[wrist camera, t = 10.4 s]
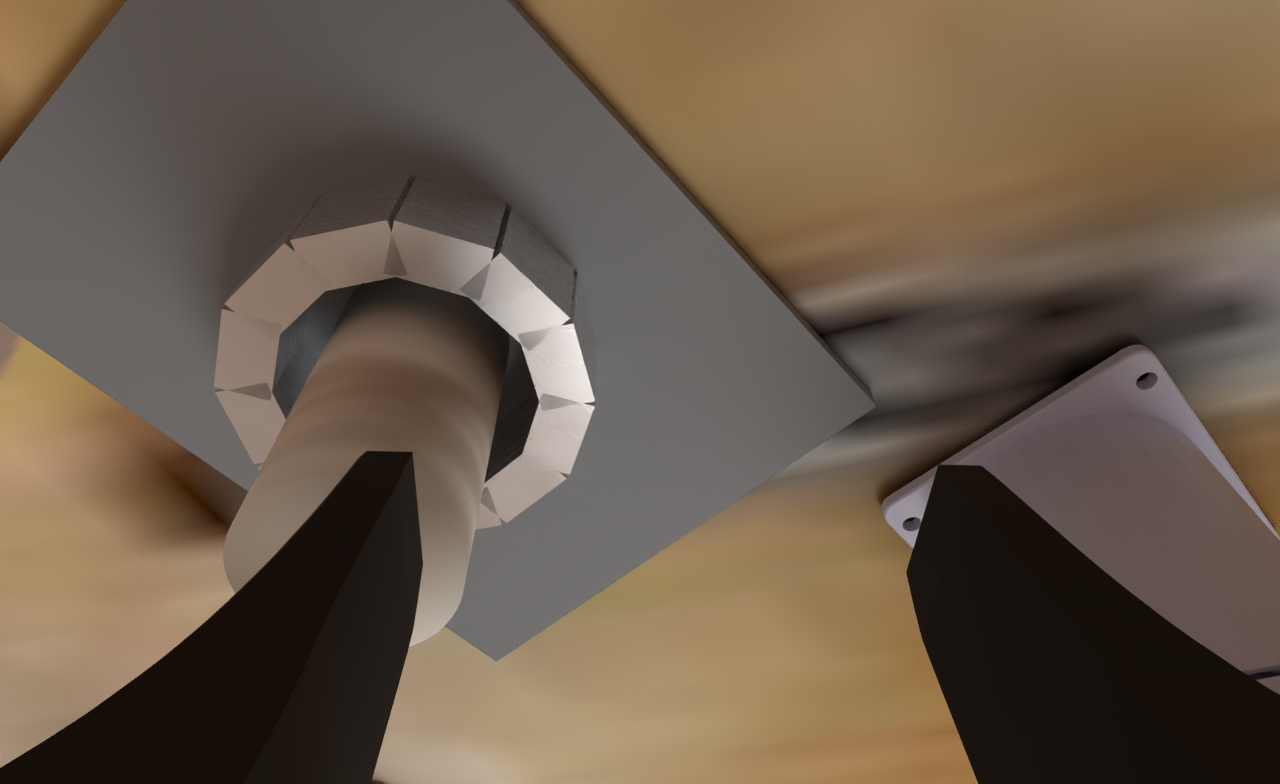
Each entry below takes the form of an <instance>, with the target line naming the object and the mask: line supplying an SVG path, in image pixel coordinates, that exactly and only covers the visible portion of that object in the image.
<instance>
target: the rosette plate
mask: <svg viewBox="0 0 1280 784" xmlns="http://www.w3.org/2000/svg"><path fill="white" fill-rule="evenodd" d="M409 175H411V178H412V181H413V182H414V180H415V178H416V176H420V177H423V178H427V179H430V180H433V181H437V182H440V183H444V184H447V185H450V186H454V187H457V188H460V189H464V190H467V191H470V192H474V193H477V194H480V195H484V196H487V197H490V198H494V199H497V200H500V201H504V202H507V203H506V207H505V211H504V213H505V212H506V211H507V210H508V209H509V208H510V207H511V206H513V207H514V208H515V209H516V210H517V211H518V212H519V213H520V214H521V215H522V216H523V217H524V218H525V219H526V220H527V221H529V222H530V223H531V224H532V225H533V226H534V227H535V228H536V229H537V230H538V231H539V232H540V233H541V234H542V235H543V236H544V237H545V238H546V239H547V240H548V241H549V242H550V243H551V244H552V245H553V246H554V247H555V248H556V249H557V250H558V251H559V252H560V253H561V254H562V255H563V256H564V257H565V258H566V259H568V260H569V261H570V262H571V263H572V264H573V265H574V266H575V268H574V272H577V271H578V275H579V279H580V282H581V286H582V290H583V294H584V297H585V301H586V305H587V309H588V312H589V316H590V320H591V324H592V327H593V331H594V335H595V339H596V342H597V360H596V389H595V407H594V410H593V413H592V416H591V418H590V421H589V424H588V427H587V429H586V432H585V435H584V437H583V440H582V443H581V446H580V448H579V451H578V454H577V457H576V459H575V462H574V465H573V467H572V470H571V473H570V475H569V474H567V479H566V480H564V481H563V482H562V483H560V484H559V485H558V486H556V487H555V488H553V489H552V490H551V491H549V492H548V493H547V494H545V495H544V496H543V497H541V498H540V499H539V500H537V501H536V502H535V503H533V504H532V505H531V506H529V507H528V508H526V509H525V510H524V511H522V512H521V513H520V514H518V515H517V516H516V517H514V518H513V519H512V520H510V521H509V522H508V523H506V522H505V521H504V520H503V521H502V525H499V526H494V527H488V528H482V529H476V530H475V533H474V539H473V544H472V549H471V554H470V559H469V565H468V570H467V575H466V580H465V585H464V590H463V595H462V599H461V602H460V604H459V606H458V609H457V610H456V612H455V613H454V615H453V617H452V618H451V619H450V620H449V621H448V623H447V624H446V625H445V627H447V628H448V629H450V630H451V631H453V632H454V633H456V634H457V635H458V636H460V637H461V638H463V639H464V640H466V641H467V642H469V643H470V644H472V645H473V646H474V647H476V648H477V649H479V650H480V651H482V652H483V653H485V654H486V655H488V656H489V657H491V658H492V659H493V660H495V661H498V660H499V659H501V658H502V657H504V656H505V655H507V654H508V653H510V652H511V651H513V650H514V649H516V648H517V647H519V646H520V645H522V644H523V643H525V642H526V641H528V640H529V639H531V638H532V637H534V636H535V635H537V634H538V633H540V632H541V631H543V630H544V629H546V628H547V627H549V626H550V625H552V624H553V623H554V622H556V621H557V620H559V619H560V618H562V617H563V616H565V615H566V614H568V613H569V612H571V611H572V610H574V609H575V608H577V607H578V606H580V605H581V604H583V603H584V602H586V601H587V600H589V599H590V598H592V597H593V596H595V595H596V594H598V593H599V592H601V591H602V590H604V589H605V588H607V587H608V586H610V585H611V584H613V583H614V582H616V581H617V580H619V579H620V578H622V577H623V576H624V575H626V574H627V573H629V572H630V571H632V570H633V569H635V568H636V567H638V566H639V565H641V564H642V563H644V562H645V561H647V560H648V559H650V558H651V557H653V556H654V555H656V554H657V553H659V552H660V551H662V550H663V549H665V548H666V547H668V546H669V545H671V544H672V543H674V542H675V541H677V540H678V539H680V538H681V537H683V536H684V535H686V534H687V533H689V532H690V531H692V530H693V529H694V528H696V527H697V526H699V525H700V524H702V523H703V522H705V521H706V520H708V519H709V518H711V517H712V516H714V515H715V514H717V513H718V512H720V511H721V510H723V509H724V508H726V507H727V506H729V505H730V504H732V503H733V502H735V501H736V500H738V499H739V498H741V497H742V496H744V495H745V494H747V493H748V492H750V491H751V490H753V489H754V488H756V487H757V486H759V485H760V484H762V483H763V482H765V481H766V480H767V479H769V478H770V477H772V476H773V475H775V474H776V473H778V472H779V471H781V470H782V469H784V468H785V467H787V466H788V465H790V464H791V463H793V462H794V461H796V460H797V459H799V458H800V457H802V456H803V455H805V454H806V453H808V452H809V451H811V450H812V449H814V448H815V447H817V446H818V445H820V444H821V443H823V442H824V441H826V440H827V439H829V438H830V437H832V436H833V435H835V434H836V433H837V432H839V431H840V430H842V429H843V428H845V427H846V426H848V425H849V424H851V423H852V422H854V421H855V420H857V419H858V418H860V417H861V416H863V415H864V414H866V413H867V412H869V411H870V410H872V409H873V408H875V407H876V406H877V405H876V403H875V401H874V398H873V396H872V394H871V392H870V391H869V390H868V389H867V388H866V387H865V386H864V385H863V383H862V382H861V381H860V380H859V379H858V378H857V377H856V376H855V375H854V374H853V372H852V371H851V370H850V369H849V368H848V367H847V366H846V365H845V364H844V363H843V361H842V360H841V359H840V358H839V357H838V356H837V355H836V354H835V353H834V351H833V350H832V349H831V348H830V347H829V346H828V345H827V344H826V343H825V342H824V340H823V339H822V338H821V337H820V336H819V335H818V334H817V333H816V332H815V331H814V329H813V328H812V327H811V326H810V325H809V324H808V323H807V322H806V321H805V319H804V318H803V317H802V316H801V315H800V314H799V313H798V312H797V311H796V310H795V308H794V307H793V306H792V305H791V304H790V303H789V302H788V301H787V300H786V299H785V297H784V296H783V295H782V294H781V293H780V292H779V291H778V290H777V289H776V287H775V286H774V285H773V284H772V283H771V282H770V281H769V280H768V279H767V278H766V276H765V275H764V274H763V273H762V272H761V271H760V270H759V269H758V268H757V267H756V265H755V264H754V263H753V262H752V261H751V260H750V259H749V258H748V257H747V255H746V254H745V253H744V252H743V251H742V250H741V249H740V248H739V247H738V246H737V244H736V243H735V242H734V241H733V240H732V239H731V238H730V237H729V236H728V235H727V233H726V232H725V231H724V230H723V229H722V228H721V227H720V226H719V225H718V223H717V222H716V221H715V220H714V219H713V218H712V217H711V216H710V215H709V214H708V212H707V211H706V210H705V209H704V208H703V207H702V206H701V205H700V204H699V203H698V201H697V200H696V199H695V198H694V197H693V196H692V195H691V194H690V193H689V192H688V190H687V189H686V188H685V187H684V186H683V185H682V184H681V183H680V182H679V180H678V179H677V178H676V177H675V176H674V175H673V174H672V173H671V172H670V171H669V169H668V168H667V167H666V166H665V165H664V164H663V163H662V162H661V161H660V160H659V158H658V157H657V156H656V155H655V154H654V153H653V152H652V151H651V150H650V148H649V147H648V146H647V145H646V144H645V143H644V142H643V141H642V140H641V139H640V137H639V136H638V135H637V134H636V133H635V132H634V131H633V130H632V129H631V128H630V126H629V125H628V124H627V123H626V122H625V121H624V120H623V119H622V118H621V116H620V115H619V114H618V113H617V112H616V111H615V110H614V109H613V108H612V107H611V105H610V104H609V103H608V102H607V101H606V100H605V99H604V98H603V97H602V96H601V94H600V93H599V92H598V91H597V90H596V89H595V88H594V87H593V86H592V84H591V83H590V82H589V81H588V80H587V79H586V78H585V77H584V76H583V75H582V73H581V72H580V71H579V70H578V69H577V68H576V67H575V66H574V65H573V64H572V62H571V61H570V60H569V59H568V58H567V57H566V56H565V55H564V54H563V52H562V51H561V50H560V49H559V48H558V47H557V46H556V45H555V44H554V43H553V41H552V40H551V39H550V38H549V37H548V36H547V35H546V34H545V33H544V32H543V30H542V29H541V28H540V27H539V26H538V25H537V24H536V23H535V22H534V20H533V19H532V18H531V17H530V16H529V15H528V14H527V13H526V12H525V11H524V9H523V8H522V7H521V6H520V5H519V4H518V3H517V2H516V1H515V0H127V1H126V2H125V3H124V5H123V6H122V7H121V8H120V10H119V11H118V12H117V14H116V15H115V16H114V17H113V19H112V20H111V21H110V22H109V24H108V25H107V26H106V28H105V29H104V30H103V31H102V33H101V34H100V35H99V37H98V38H97V39H96V40H95V42H94V43H93V44H92V45H91V47H90V48H89V49H88V51H87V52H86V53H85V54H84V56H83V57H82V58H81V60H80V61H79V62H78V63H77V65H76V66H75V67H74V68H73V70H72V71H71V72H70V74H69V75H68V76H67V77H66V79H65V80H64V81H63V83H62V84H61V85H60V86H59V88H58V89H57V90H56V91H55V93H54V94H53V95H52V97H51V98H50V99H49V100H48V102H47V103H46V104H45V106H44V107H43V108H42V109H41V111H40V112H39V113H38V114H37V116H36V117H35V118H34V120H33V121H32V122H31V123H30V125H29V126H28V127H27V129H26V130H25V131H24V132H23V134H22V135H21V136H20V137H19V139H18V140H17V141H16V143H15V144H14V145H13V146H12V148H11V149H10V150H9V152H8V153H7V154H6V155H5V157H4V158H3V159H2V160H1V162H0V321H1V322H2V323H3V324H5V325H7V326H8V327H9V328H11V329H12V330H14V331H15V332H17V333H18V334H20V335H21V336H22V337H24V338H25V339H27V340H28V341H30V342H31V343H33V344H34V345H36V346H37V347H38V348H40V349H41V350H43V351H44V352H46V353H47V354H49V355H50V356H52V357H53V358H55V359H56V360H57V361H59V362H60V363H62V364H63V365H65V366H66V367H68V368H69V369H71V370H72V371H73V372H75V373H76V374H78V375H79V376H81V377H82V378H84V379H85V380H87V381H88V382H90V383H91V384H92V385H94V386H95V387H97V388H98V389H100V390H101V391H103V392H104V393H106V394H107V395H108V396H110V397H111V398H113V399H114V400H116V401H117V402H119V403H120V404H122V405H123V406H125V407H126V408H127V409H129V410H130V411H132V412H133V413H135V414H136V415H138V416H139V417H141V418H142V419H143V420H145V421H146V422H148V423H149V424H151V425H152V426H154V427H155V428H157V429H158V430H160V431H161V432H162V433H164V434H165V435H167V436H168V437H170V438H171V439H173V440H174V441H176V442H177V443H178V444H180V445H181V446H183V447H184V448H186V449H187V450H189V451H190V452H192V453H193V454H195V455H196V456H197V457H199V458H200V459H202V460H203V461H205V462H206V463H208V464H209V465H211V466H212V467H213V468H215V469H216V470H218V471H219V472H221V473H222V474H224V475H225V476H227V477H228V478H229V479H231V480H232V481H234V482H235V483H237V484H238V485H240V486H241V487H243V488H244V489H246V490H247V491H248V492H249V490H250V488H251V486H252V484H253V482H254V481H255V479H256V477H257V475H258V473H259V471H260V470H259V469H258V467H259V465H260V463H257V464H254V463H253V461H252V460H251V458H250V456H249V454H248V452H247V450H246V449H245V447H244V445H243V443H242V441H241V439H240V438H239V436H238V434H237V432H236V430H235V428H234V426H233V425H232V423H231V421H230V419H229V417H228V415H227V414H226V412H225V410H224V408H223V406H222V404H221V403H220V401H219V399H218V397H217V395H216V393H215V392H216V390H217V388H216V387H214V380H215V370H216V361H217V351H218V341H219V332H220V322H221V312H222V308H223V307H224V305H225V304H224V303H225V302H226V301H227V299H228V298H229V297H230V295H231V294H232V293H233V291H234V290H235V289H236V287H237V286H238V285H239V284H240V282H241V281H242V280H243V278H244V277H245V276H246V274H247V273H248V272H249V270H250V269H251V268H252V266H253V265H254V264H255V262H256V261H257V260H258V258H259V257H260V256H261V254H262V253H263V252H264V251H265V250H266V249H267V248H268V247H269V246H270V245H271V244H272V243H273V242H274V241H275V240H276V239H277V238H278V237H279V236H280V235H281V234H282V233H283V232H284V231H285V230H286V229H287V228H288V226H289V225H290V224H291V223H292V222H293V221H294V220H295V219H296V218H297V217H298V216H299V215H300V214H301V213H302V212H303V211H304V210H305V209H306V208H307V207H308V206H309V205H310V204H311V203H312V202H313V201H314V200H315V199H316V198H317V197H319V198H321V196H322V195H323V194H324V193H329V192H333V191H338V190H343V189H348V188H352V187H357V186H362V185H367V184H371V183H376V182H381V181H386V180H390V179H395V178H400V177H405V176H409ZM360 285H361V284H358V285H353V286H348V287H343V288H338V289H333V290H328V291H325V292H324V293H323V294H322V295H321V296H320V297H319V298H318V299H316V300H315V301H314V302H313V303H312V304H311V305H310V306H309V307H308V313H307V319H306V326H305V332H304V336H305V338H306V341H307V343H308V345H309V347H310V349H311V351H312V354H313V356H314V358H315V360H316V362H317V360H318V358H319V356H320V354H321V352H322V350H323V348H324V347H325V345H326V343H327V341H328V339H329V337H330V335H331V333H332V331H333V329H334V327H335V326H336V324H337V322H338V320H339V318H340V316H341V314H342V312H343V310H344V308H345V306H346V304H347V303H348V301H349V299H350V297H351V296H352V294H353V293H354V291H355V290H356V289H357V288H358V287H359V286H360ZM509 338H510V350H509V357H508V362H507V367H506V372H505V377H504V383H503V388H502V393H501V398H500V403H499V409H498V414H497V419H496V422H497V421H498V420H499V419H500V418H502V417H503V416H504V415H505V414H507V413H508V412H509V411H510V410H512V409H513V408H514V407H515V406H517V405H518V404H519V403H520V402H522V401H523V400H524V399H525V398H527V397H528V396H529V395H530V394H531V392H532V389H533V386H534V383H533V380H532V377H531V374H530V371H529V367H528V364H527V361H526V358H525V355H524V352H523V349H522V346H521V344H520V343H519V342H518V341H517V340H516V339H515V338H514V337H513V336H511V335H510V334H509Z"/></svg>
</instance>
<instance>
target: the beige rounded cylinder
mask: <svg viewBox="0 0 1280 784" xmlns="http://www.w3.org/2000/svg"><path fill="white" fill-rule="evenodd" d="M509 350H510V338H509V333H508V332H507V331H506V330H505V329H504V328H502V327H501V326H500V325H499V324H498V323H497V322H496V321H495V320H494V319H492V318H491V317H490V316H489V315H488V314H487V313H486V312H485V311H483V310H482V309H481V308H480V307H479V306H478V305H477V304H476V303H475V302H473V301H472V300H471V299H470V298H469V297H466V296H462V295H459V294H455V293H451V292H448V291H444V290H441V289H437V288H433V287H430V286H426V285H423V284H419V283H415V282H412V281H408V280H405V279H401V278H397V277H393V278H388V279H383V280H378V281H373V282H368V283H363V284H361V285H360V286H359V287H358V288H357V289H356V290H355V291H354V293H353V294H352V296H351V297H350V299H349V301H348V303H347V304H346V306H345V308H344V310H343V312H342V314H341V316H340V318H339V320H338V322H337V324H336V326H335V327H334V329H333V331H332V333H331V335H330V337H329V339H328V341H327V343H326V345H325V347H324V348H323V350H322V352H321V354H320V356H319V358H318V360H317V362H316V364H315V366H314V368H313V370H312V371H311V373H310V375H309V377H308V379H307V381H306V383H305V385H304V387H303V389H302V391H301V392H300V394H299V396H298V398H297V400H296V402H295V404H294V406H293V408H292V410H291V412H290V414H289V415H288V417H287V419H286V421H285V423H284V425H283V427H282V429H281V431H280V433H279V435H278V437H277V438H276V440H275V442H274V444H273V446H272V448H271V450H270V452H269V454H268V456H267V458H266V459H265V461H264V463H263V465H262V467H261V469H260V471H259V473H258V475H257V477H256V479H255V481H254V482H253V484H252V486H251V488H250V490H249V492H248V494H247V496H246V498H245V500H244V502H243V503H242V505H241V507H240V509H239V511H238V513H237V515H236V517H235V519H234V521H233V523H232V525H231V527H230V529H229V531H228V533H227V536H226V540H225V544H224V565H225V571H226V574H227V577H228V580H229V582H230V584H231V586H232V588H233V590H234V592H235V593H237V592H238V591H239V590H240V589H241V588H242V587H243V586H244V585H245V584H246V583H247V582H248V581H249V580H250V579H251V578H252V577H253V576H254V575H255V574H256V573H257V572H258V571H259V570H260V569H261V568H262V567H263V566H264V565H265V564H266V563H267V562H268V561H269V560H270V559H271V558H272V557H273V556H274V555H275V554H276V553H277V552H278V551H279V550H280V549H281V548H282V546H283V545H284V544H285V543H286V542H287V541H288V540H289V539H290V538H291V537H292V535H293V534H294V533H295V532H296V531H297V530H298V529H299V528H300V527H301V526H302V524H303V523H304V522H305V521H306V520H307V519H308V518H309V517H310V516H311V514H312V513H313V512H314V511H315V510H316V509H317V507H318V506H319V505H320V504H321V503H322V502H323V500H324V499H325V498H326V497H327V496H328V495H329V493H330V492H331V491H332V490H333V489H334V487H335V486H336V485H337V484H338V483H339V481H340V480H341V479H342V478H343V476H344V475H345V474H346V473H347V471H348V470H349V469H350V468H351V467H352V465H353V464H354V463H355V462H356V460H357V459H358V458H359V457H360V456H361V455H362V454H363V453H365V452H366V451H399V452H413V461H414V472H415V483H416V493H417V504H418V515H419V525H420V536H421V547H422V557H423V569H422V576H421V583H420V589H419V596H418V603H417V609H416V616H415V622H414V628H413V633H412V637H411V641H410V645H409V647H411V646H413V645H416V644H418V643H420V642H422V641H424V640H426V639H428V638H429V637H431V636H432V635H434V634H435V633H437V632H438V631H439V630H440V629H442V628H443V627H444V626H445V625H446V624H447V623H448V621H449V620H450V619H451V618H452V617H453V615H454V613H455V612H456V610H457V609H458V606H459V604H460V602H461V599H462V595H463V590H464V585H465V580H466V575H467V570H468V565H469V559H470V554H471V549H472V544H473V539H474V533H475V528H476V523H477V518H478V513H479V507H480V502H481V497H482V492H483V487H484V481H485V476H486V471H487V466H488V461H489V455H490V450H491V445H492V440H493V435H494V429H495V424H496V419H497V414H498V409H499V403H500V398H501V393H502V388H503V383H504V377H505V372H506V367H507V362H508V357H509Z"/></svg>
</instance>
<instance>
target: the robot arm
mask: <svg viewBox="0 0 1280 784" xmlns="http://www.w3.org/2000/svg"><path fill="white" fill-rule="evenodd" d="M1147 372H1150V373H1149V375H1148V376H1147V377H1146V378H1145V379H1144V380H1141V381H1139V382H1137V379H1138V378H1139V377H1140V376H1141V375H1142V374H1145V373H1147ZM881 511H882V514H883V517H884V519H885V520H886V522H887V523H888V524H889V525H890V526H891V527H892V528H893V529H894V530H895V531H896V532H897V533H898V534H899V535H900V536H901V537H902V538H903V539H904V540H905V542H906V543H907V544H908V545H909V546H910V547H911V548H912V549H913V552H912V555H911V558H910V562H909V565H908V569H907V572H906V573H907V577H908V582H909V586H910V591H911V595H912V600H913V604H914V609H915V613H916V617H917V620H918V624H919V628H920V632H921V636H922V639H923V642H924V645H925V647H926V650H927V653H928V656H929V658H930V661H931V663H932V666H933V669H934V671H935V674H936V677H937V679H938V682H939V684H940V687H941V690H942V692H943V695H944V697H945V700H946V702H947V705H948V707H949V710H950V713H951V715H952V718H953V720H954V723H955V725H956V728H957V730H958V733H959V735H960V738H961V741H962V743H963V746H964V748H965V751H966V753H967V756H968V758H969V761H970V763H971V766H972V769H973V771H974V774H975V776H976V779H977V781H978V784H1280V537H1279V536H1278V534H1277V533H1276V531H1275V530H1274V528H1273V527H1272V525H1271V524H1270V522H1269V521H1268V520H1267V518H1266V517H1265V515H1264V514H1263V512H1262V511H1261V509H1260V508H1259V506H1258V505H1257V503H1256V502H1255V501H1254V499H1253V498H1252V496H1251V495H1250V493H1249V492H1248V490H1247V489H1246V487H1245V486H1244V484H1243V483H1242V481H1241V480H1240V479H1239V477H1238V476H1237V474H1236V473H1235V471H1234V470H1233V468H1232V467H1231V465H1230V464H1229V462H1228V461H1227V460H1226V458H1225V457H1224V455H1223V454H1222V452H1221V451H1220V449H1219V448H1218V446H1217V445H1216V443H1215V442H1214V440H1213V439H1212V438H1211V436H1210V435H1209V433H1208V432H1207V430H1206V429H1205V427H1204V426H1203V424H1202V423H1201V421H1200V420H1199V419H1198V417H1197V416H1196V414H1195V413H1194V411H1193V410H1192V408H1191V407H1190V405H1189V404H1188V402H1187V401H1186V399H1185V398H1184V397H1183V395H1182V394H1181V392H1180V391H1179V389H1178V388H1177V386H1176V385H1175V383H1174V382H1173V380H1172V379H1171V378H1170V376H1169V375H1168V373H1167V372H1166V370H1165V369H1164V367H1163V366H1162V364H1161V363H1160V361H1159V360H1158V358H1157V357H1156V356H1155V355H1154V354H1153V353H1152V351H1151V350H1149V349H1148V348H1147V347H1146V346H1143V345H1139V344H1138V345H1130V346H1128V347H1126V348H1124V349H1122V350H1120V351H1119V352H1117V353H1116V354H1114V355H1112V356H1111V357H1109V358H1108V359H1106V360H1104V361H1103V362H1101V363H1100V364H1098V365H1096V366H1095V367H1093V368H1092V369H1090V370H1088V371H1087V372H1085V373H1084V374H1082V375H1081V376H1079V377H1077V378H1076V379H1074V380H1073V381H1071V382H1069V383H1068V384H1066V385H1065V386H1063V387H1061V388H1060V389H1058V390H1057V391H1055V392H1053V393H1052V394H1050V395H1049V396H1047V397H1045V398H1044V399H1042V400H1041V401H1039V402H1038V403H1036V404H1034V405H1033V406H1031V407H1030V408H1028V409H1026V410H1025V411H1023V412H1022V413H1020V414H1018V415H1017V416H1015V417H1014V418H1012V419H1010V420H1009V421H1007V422H1006V423H1004V424H1002V425H1001V426H999V427H998V428H996V429H995V430H993V431H991V432H990V433H988V434H987V435H985V436H983V437H982V438H980V439H979V440H977V441H975V442H974V443H972V444H971V445H969V446H967V447H966V448H964V449H963V450H961V451H960V452H958V453H956V454H955V455H953V456H952V457H950V458H948V459H947V460H945V461H944V462H942V463H940V464H939V465H937V466H936V467H934V468H932V469H931V470H929V471H928V472H926V473H924V474H923V475H921V476H920V477H918V478H917V479H915V480H913V481H912V482H910V483H909V484H907V485H905V486H904V487H902V488H901V489H899V490H897V491H896V492H894V493H893V494H891V495H889V496H888V497H887V498H886V499H885V500H884V501H883V503H882V505H881ZM910 517H916V518H915V519H914V520H913V521H910V522H904V521H905V520H906V519H908V518H910ZM422 569H423V557H422V547H421V536H420V525H419V515H418V504H417V493H416V483H415V472H414V461H413V452H399V451H366V452H365V453H363V454H362V455H361V456H360V457H359V458H358V459H357V460H356V462H355V463H354V464H353V465H352V467H351V468H350V469H349V470H348V471H347V473H346V474H345V475H344V476H343V478H342V479H341V480H340V481H339V483H338V484H337V485H336V486H335V487H334V489H333V490H332V491H331V492H330V493H329V495H328V496H327V497H326V498H325V499H324V500H323V502H322V503H321V504H320V505H319V506H318V507H317V509H316V510H315V511H314V512H313V513H312V514H311V516H310V517H309V518H308V519H307V520H306V521H305V522H304V523H303V524H302V526H301V527H300V528H299V529H298V530H297V531H296V532H295V533H294V534H293V535H292V537H291V538H290V539H289V540H288V541H287V542H286V543H285V544H284V545H283V546H282V548H281V549H280V550H279V551H278V552H277V553H276V554H275V555H274V556H273V557H272V558H271V559H270V560H269V561H268V562H267V563H266V564H265V565H264V566H263V567H262V568H261V569H260V570H259V571H258V572H257V573H256V574H255V575H254V576H253V577H252V578H251V579H250V580H249V581H248V582H247V583H246V584H245V585H244V586H243V587H242V588H241V589H240V590H239V591H238V592H237V593H236V594H235V595H234V596H233V597H232V598H231V599H230V600H229V601H228V602H227V603H225V604H224V605H223V606H222V607H221V608H220V609H219V610H218V611H217V612H216V613H215V614H213V615H212V616H211V617H210V618H209V619H208V620H207V621H206V622H205V623H203V624H202V625H201V626H200V627H199V628H198V629H196V630H195V631H194V632H193V633H192V634H191V635H189V636H188V637H187V638H186V639H185V640H183V641H182V642H181V643H180V644H179V645H177V646H176V647H175V648H174V649H173V650H171V651H170V652H169V653H168V654H167V655H165V656H164V657H163V658H162V659H160V660H159V661H158V662H156V663H155V664H154V665H152V666H151V667H150V668H149V669H147V670H146V671H145V672H143V673H142V674H141V675H139V676H138V677H137V678H135V679H134V680H132V681H131V682H130V683H128V684H127V685H126V686H124V687H123V688H121V689H120V690H119V691H117V692H116V693H115V694H113V695H112V696H110V697H109V698H108V699H106V700H105V701H103V702H102V703H101V704H99V705H98V706H97V707H95V708H94V709H92V710H91V711H90V712H88V713H87V714H85V715H84V716H82V717H81V718H79V719H78V720H76V721H75V722H73V723H71V724H70V725H68V726H67V727H65V728H64V729H62V730H61V731H59V732H58V733H56V734H54V735H53V736H51V737H50V738H48V739H47V740H45V741H44V742H42V743H40V744H39V745H37V746H35V747H34V748H32V749H31V750H29V751H27V752H26V753H24V754H22V755H21V756H19V757H18V758H16V759H14V760H13V761H11V762H9V763H8V764H6V765H4V766H3V767H1V768H0V784H371V780H372V777H373V773H374V770H375V766H376V763H377V759H378V756H379V752H380V748H381V745H382V741H383V738H384V734H385V731H386V727H387V724H388V720H389V717H390V713H391V709H392V706H393V702H394V699H395V695H396V692H397V688H398V685H399V681H400V677H401V674H402V670H403V666H404V663H405V659H406V656H407V652H408V648H409V645H410V641H411V637H412V633H413V628H414V622H415V616H416V609H417V603H418V596H419V589H420V583H421V576H422Z"/></svg>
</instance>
